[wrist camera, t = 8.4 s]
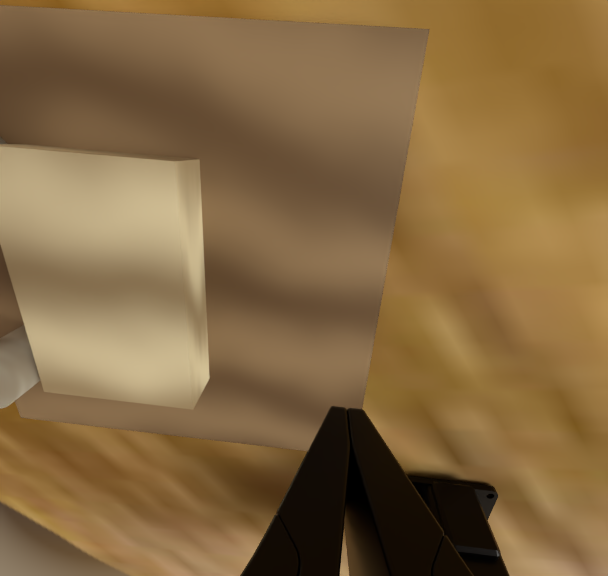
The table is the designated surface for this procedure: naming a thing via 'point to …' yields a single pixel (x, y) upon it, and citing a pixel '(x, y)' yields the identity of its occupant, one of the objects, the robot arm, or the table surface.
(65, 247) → the maple plate
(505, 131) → the table surface
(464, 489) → the robot arm
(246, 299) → the bench board
